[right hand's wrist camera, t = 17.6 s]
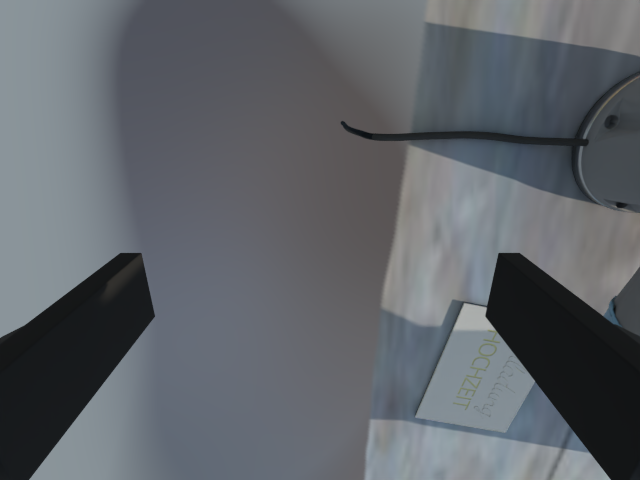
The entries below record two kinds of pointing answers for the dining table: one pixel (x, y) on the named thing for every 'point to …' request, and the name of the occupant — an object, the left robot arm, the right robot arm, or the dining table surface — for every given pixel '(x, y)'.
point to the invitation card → (476, 377)
